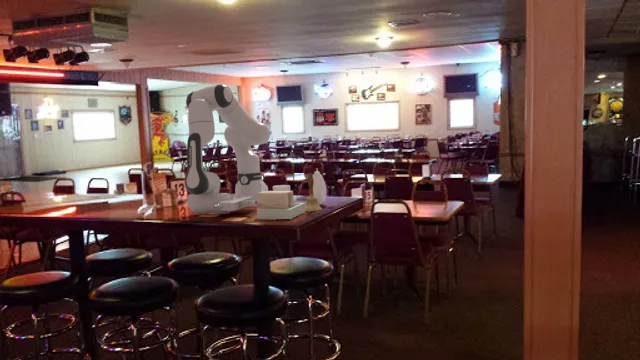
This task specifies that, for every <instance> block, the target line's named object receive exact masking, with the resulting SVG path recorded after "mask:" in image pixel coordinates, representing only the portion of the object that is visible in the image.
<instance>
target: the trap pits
mask: <svg viewBox="0 0 640 360" xmlns="http://www.w3.org/2000/svg"><path fill="white" fill-rule="evenodd" d="M219 216H222V215H221V214H216V213H209V214H206V213H202V214H201V215H198V218H199V217H200V218H204V217H206V218H207V217H209V218H210V217H212V218H216V217H219ZM247 219H249V217H247V216H245V217H243V216H238V217H236V216H234V217H233V216H230V217H228V218H225V219H222V220H221V222H242V221H245V220H247Z"/></svg>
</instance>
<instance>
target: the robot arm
mask: <svg viewBox="0 0 640 360" xmlns="http://www.w3.org/2000/svg"><path fill="white" fill-rule="evenodd" d="M185 104H186V108H187V112H188V113H187V123H188V124H187V126H188V138H187V141H186V142H187V143H186V174H185V177H184V187H185V189H186V190H187V191H188V193H190V195H189V196H188V197H187V204H188V207H189V210H191V211H192V212H194V213H198V214H209V213H216V214H222V215H227V214H230V213H231V212H234V211H237V210H240V209H241V210H242V209H243V208H247V207H253V206H255V205H256V203H257V193H259V192H262V191H269V187H268V185H267V183H265V182H264V181H263V177H264V172H262V171H261V165H260V157H259V155H258V154H257V153H255V152H254V151H253V149H252V146H259V145H264V144H267V143H268V142H269V140H270V138H271V131H270V128H269V126H268V125H267V124H265V123H262V122H260V121H259V120H257V119H256V118H254V117H252V116H251V115H250V114H249V113H248V112H247V111H245V109H244V108H243V106H242V105H241V104H240V102H239V101H238V99H237V97H236V96H235V95H234V94H233V92H232V90H231V88H230V87H229V86H227V85H226V84H223V83H222V84H215V85H211V86H206V87H204V88H200V89H198V90H194V91H192V92H190V93H189V94H187V96H186V100H185ZM215 111H216V113H217V114H218V115H219V117H220V119H221V120H222V121H223V122H224V123H225V125H227V126H226V128H225V130H224V133H223V136H224V137H223V138H224V140H225V142H226V143H227V144H228V145H230V147H231V148H232V150H233V152H234V153H235V156H236V163H237V165H236V166H237V174H236V177H237V178H236V179H237V182H236V184H235V189H234V190H235V191H234V192H235V193H229V192H220V191H221V182H222V181H221V177H220V176H219V175H218V174H217V173H215V172H212V171H211V172H210V171H205V170H204V169H203V149H204V147H205V146H206V145H208V144H209V143H211V142H212V141H213V139H214V138H215V132H216V129H215V120H214V115H213V114H214V113H213V112H215Z"/></svg>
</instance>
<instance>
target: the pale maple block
mask: <svg viewBox="0 0 640 360" xmlns="http://www.w3.org/2000/svg"><path fill="white" fill-rule="evenodd" d="M294 203H295V202H294V190H290V191H273V190H268V191H262V192H259V193H257V201H256V210H257V209H290V208H292V207H294Z"/></svg>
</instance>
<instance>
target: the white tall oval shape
mask: <svg viewBox="0 0 640 360" xmlns="http://www.w3.org/2000/svg"><path fill="white" fill-rule="evenodd" d="M312 176H313V180H314V184H313V194H314V196H315V197H316V198H317V202H318V205H319V206H321V205H322V204H323V203H324V202H325V200H326V196H327V186H326V182H325V179H324V177H323V175H322V174H321V172H320V171H318V169H316V171H314V173H313V175H312ZM309 193H310V192H309ZM309 193H308V194H309Z"/></svg>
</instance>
